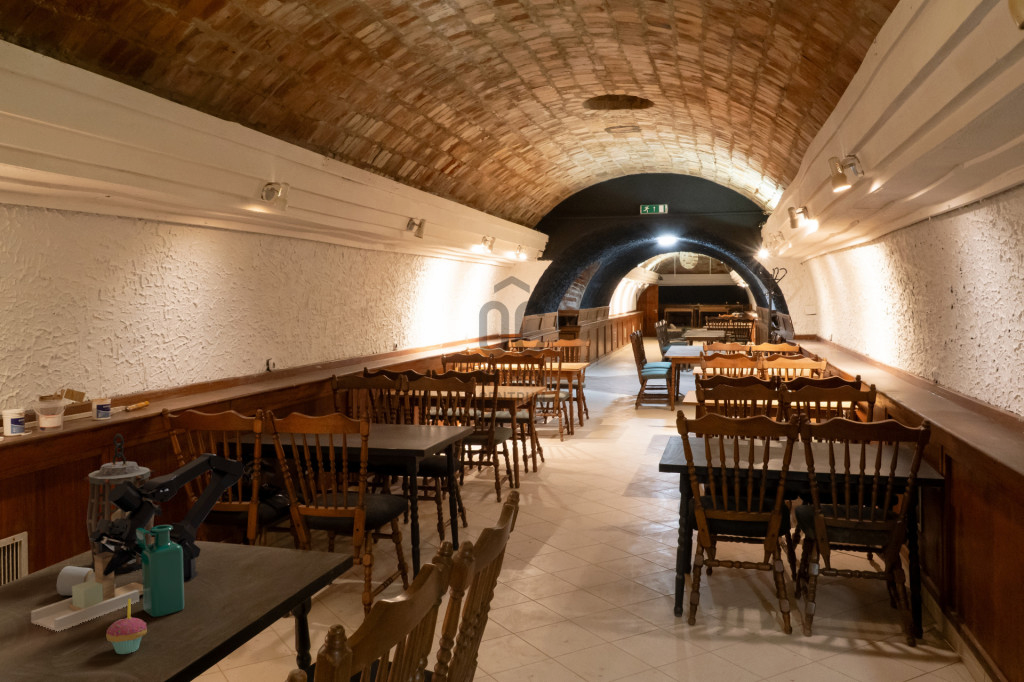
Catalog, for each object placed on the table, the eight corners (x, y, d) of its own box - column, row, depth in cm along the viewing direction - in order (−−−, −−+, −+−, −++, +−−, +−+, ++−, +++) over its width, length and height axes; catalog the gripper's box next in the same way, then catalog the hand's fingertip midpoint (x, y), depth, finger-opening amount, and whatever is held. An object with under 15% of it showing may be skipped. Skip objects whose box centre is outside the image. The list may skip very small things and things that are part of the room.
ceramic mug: (85, 600, 215) (85, 571, 215) (56, 599, 216) (55, 571, 215) (107, 586, 226) (106, 559, 226) (79, 585, 226) (78, 558, 226)
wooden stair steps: (134, 585, 223) (132, 541, 222) (151, 590, 219) (150, 545, 218) (69, 608, 207) (67, 560, 206) (87, 614, 203) (85, 565, 202)
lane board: (113, 594, 219) (113, 583, 219) (139, 601, 214) (138, 590, 214) (31, 623, 200) (31, 611, 200) (57, 632, 195) (57, 620, 194)
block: (91, 599, 210) (90, 580, 210) (103, 602, 208) (102, 583, 208) (72, 605, 206) (72, 586, 206) (84, 609, 204) (83, 589, 203)
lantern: (171, 557, 250) (167, 429, 248) (128, 578, 231) (123, 440, 229) (117, 553, 254) (113, 427, 252) (70, 573, 236) (66, 438, 233)
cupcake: (116, 642, 189) (114, 592, 188) (153, 641, 190) (152, 591, 189) (100, 659, 180) (98, 606, 180) (139, 657, 181) (138, 605, 180)
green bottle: (173, 600, 214) (171, 519, 213) (187, 609, 208) (184, 525, 207) (135, 611, 208) (133, 527, 206) (148, 620, 201) (145, 534, 200)
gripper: (94, 501, 218) (55, 552, 209) (138, 510, 208) (99, 564, 200) (122, 522, 225) (86, 573, 216) (165, 532, 216) (129, 585, 207)
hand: (99, 573), depth 210 cm, fingers open, 4 cm apart
